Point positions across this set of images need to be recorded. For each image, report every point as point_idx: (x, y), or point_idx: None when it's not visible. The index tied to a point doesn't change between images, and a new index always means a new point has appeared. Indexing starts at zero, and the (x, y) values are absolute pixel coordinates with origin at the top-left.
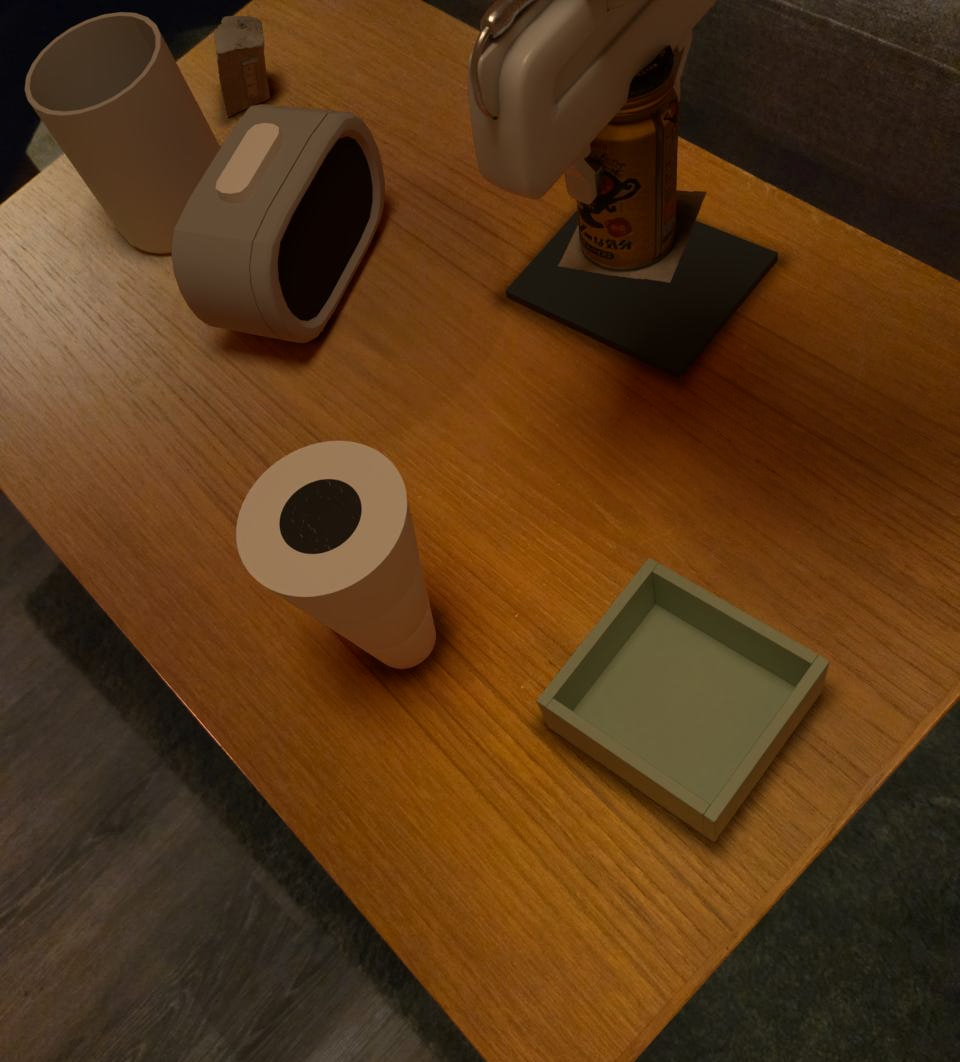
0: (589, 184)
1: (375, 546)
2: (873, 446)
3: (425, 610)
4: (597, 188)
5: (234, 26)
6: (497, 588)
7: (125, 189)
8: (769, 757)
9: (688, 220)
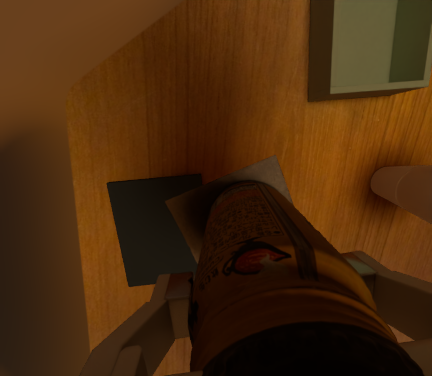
0: (385, 267)
1: None
2: (175, 61)
3: (414, 169)
4: (355, 257)
5: None
6: (342, 165)
7: None
8: None
9: (201, 192)
